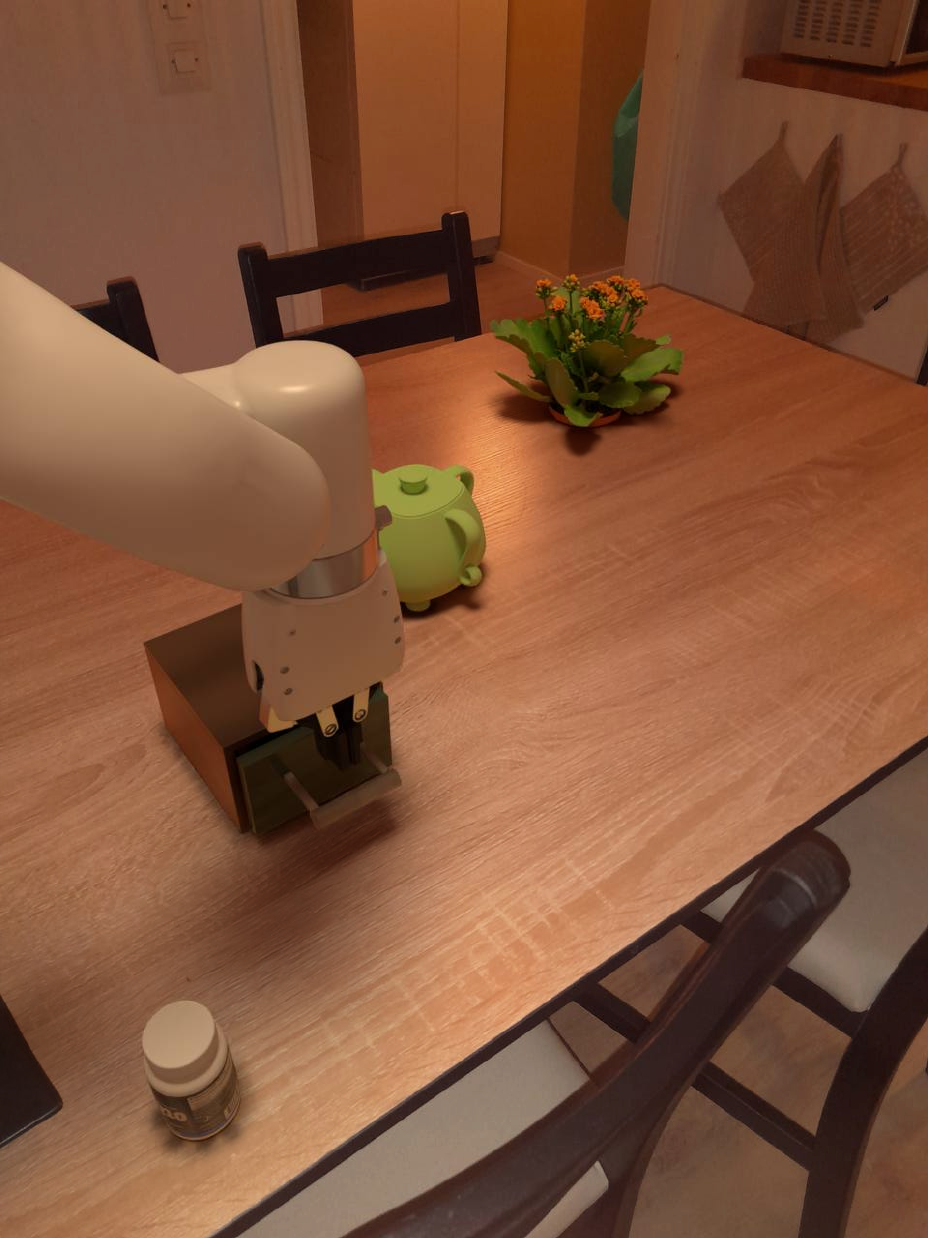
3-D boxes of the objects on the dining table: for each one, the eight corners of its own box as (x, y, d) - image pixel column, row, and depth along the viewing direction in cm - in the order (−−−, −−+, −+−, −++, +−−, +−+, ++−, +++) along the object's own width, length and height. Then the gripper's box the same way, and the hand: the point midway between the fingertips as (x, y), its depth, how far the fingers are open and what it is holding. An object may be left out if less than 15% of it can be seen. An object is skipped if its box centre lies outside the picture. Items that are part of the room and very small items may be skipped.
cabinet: (388, 757, 81) (382, 672, 75) (241, 834, 75) (222, 748, 69) (302, 664, 91) (291, 582, 85) (165, 726, 84) (142, 642, 78)
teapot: (482, 634, 94) (485, 525, 86) (337, 630, 95) (327, 521, 87) (485, 540, 107) (488, 438, 99) (356, 537, 107) (349, 434, 99)
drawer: (432, 808, 76) (431, 739, 71) (293, 888, 70) (281, 818, 65) (311, 676, 88) (302, 609, 83) (183, 734, 82) (166, 666, 77)
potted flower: (651, 472, 118) (671, 334, 107) (467, 442, 124) (468, 309, 113) (680, 386, 137) (699, 262, 126) (519, 364, 143) (524, 243, 132)
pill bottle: (148, 1101, 59) (117, 1031, 54) (214, 1048, 62) (191, 977, 56) (190, 1160, 57) (162, 1093, 51) (257, 1103, 59) (237, 1033, 54)
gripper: (385, 485, 65) (397, 685, 76) (175, 564, 58) (224, 771, 69) (451, 535, 60) (454, 741, 72) (231, 628, 53) (274, 839, 65)
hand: (341, 755), depth 70 cm, fingers closed
